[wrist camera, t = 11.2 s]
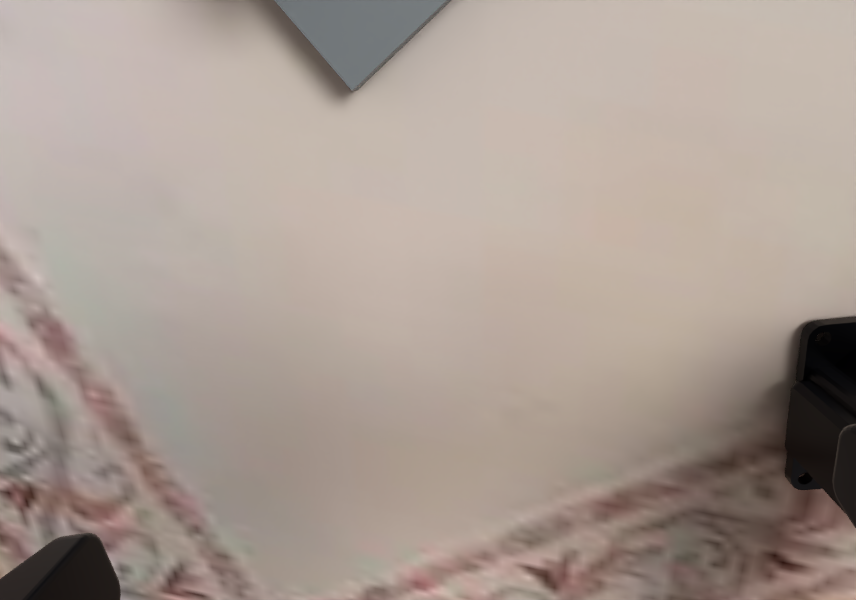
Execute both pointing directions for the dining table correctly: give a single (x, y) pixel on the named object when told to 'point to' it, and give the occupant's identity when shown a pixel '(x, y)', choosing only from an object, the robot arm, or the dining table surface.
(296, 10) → the base
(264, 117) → the dining table surface
